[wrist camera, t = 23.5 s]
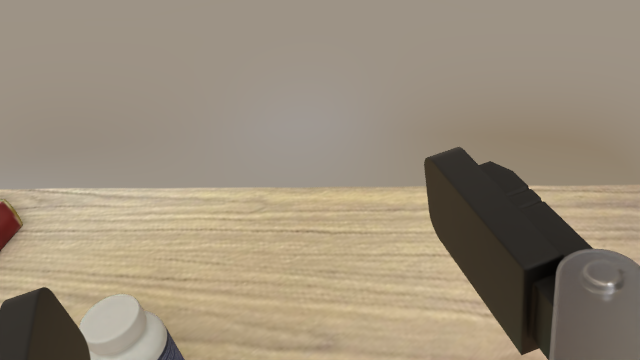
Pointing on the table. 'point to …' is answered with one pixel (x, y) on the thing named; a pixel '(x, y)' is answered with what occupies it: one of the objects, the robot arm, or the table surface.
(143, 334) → the pill bottle
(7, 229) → the hardcover book
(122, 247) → the table surface
